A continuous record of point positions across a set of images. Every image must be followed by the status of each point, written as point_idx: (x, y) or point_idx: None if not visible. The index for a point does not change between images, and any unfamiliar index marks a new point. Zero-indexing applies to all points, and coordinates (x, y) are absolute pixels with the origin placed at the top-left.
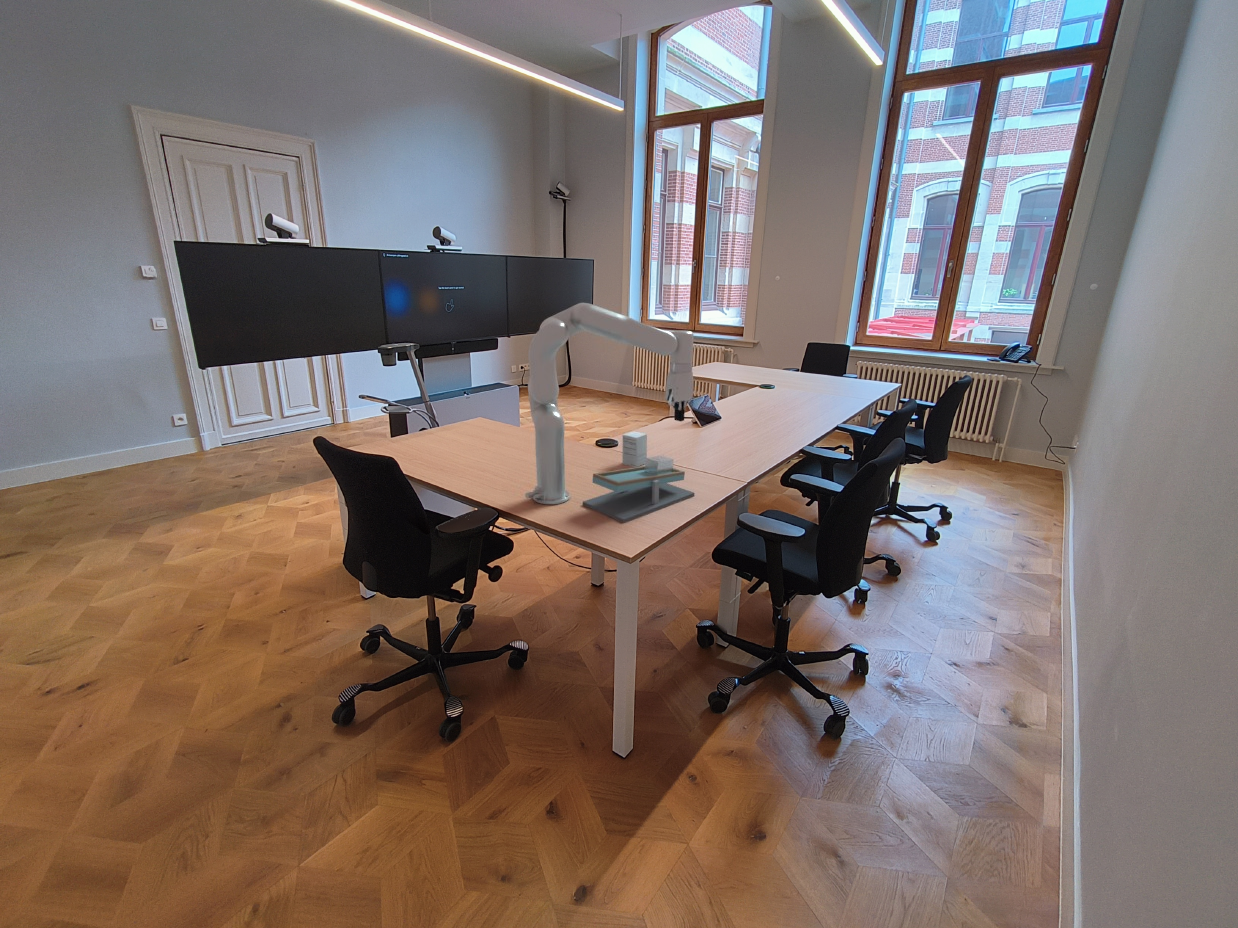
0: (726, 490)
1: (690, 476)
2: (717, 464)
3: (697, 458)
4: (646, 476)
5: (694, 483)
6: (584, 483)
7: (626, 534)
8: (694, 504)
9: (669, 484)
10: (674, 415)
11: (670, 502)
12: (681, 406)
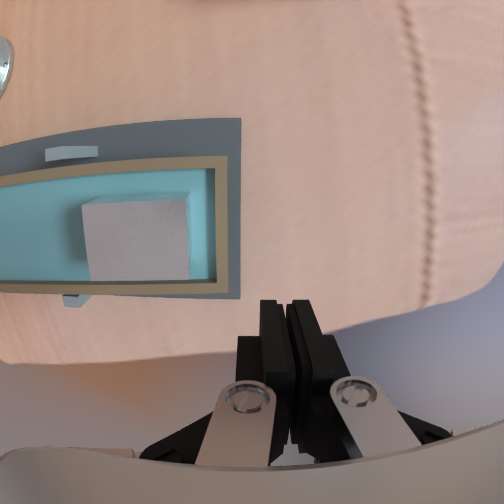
0: (340, 324)
1: (372, 177)
2: (493, 177)
3: (495, 103)
4: (71, 250)
5: (329, 228)
6: (83, 17)
7: (4, 318)
8: (193, 329)
9: (238, 198)
10: (262, 319)
11: (137, 295)
12: (325, 449)
